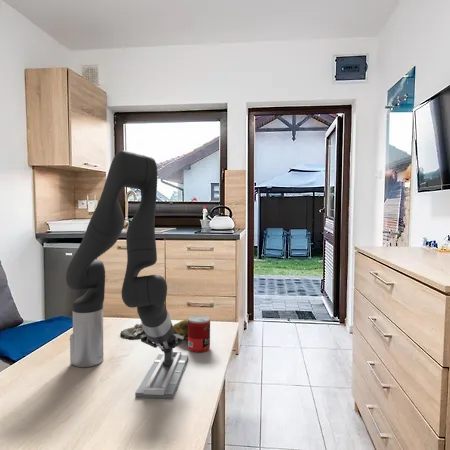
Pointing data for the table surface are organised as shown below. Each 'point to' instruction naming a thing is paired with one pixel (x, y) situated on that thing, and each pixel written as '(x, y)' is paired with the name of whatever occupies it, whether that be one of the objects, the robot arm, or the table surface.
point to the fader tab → (168, 358)
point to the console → (162, 377)
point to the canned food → (199, 333)
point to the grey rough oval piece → (133, 332)
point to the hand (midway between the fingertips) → (167, 350)
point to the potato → (181, 328)
